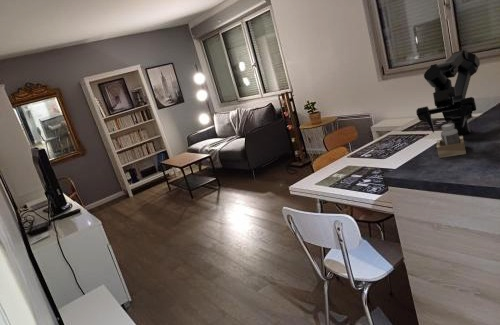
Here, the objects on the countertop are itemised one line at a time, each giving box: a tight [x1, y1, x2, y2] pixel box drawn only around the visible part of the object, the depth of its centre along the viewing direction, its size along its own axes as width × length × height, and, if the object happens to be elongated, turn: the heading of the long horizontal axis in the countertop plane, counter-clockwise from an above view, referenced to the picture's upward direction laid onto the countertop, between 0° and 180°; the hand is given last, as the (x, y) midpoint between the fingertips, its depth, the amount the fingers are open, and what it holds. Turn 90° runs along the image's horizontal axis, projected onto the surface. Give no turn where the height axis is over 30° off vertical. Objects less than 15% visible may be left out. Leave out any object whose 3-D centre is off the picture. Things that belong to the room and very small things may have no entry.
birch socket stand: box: [436, 135, 467, 159], centre depth 129 cm, size 8×8×4 cm
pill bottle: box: [440, 122, 460, 146], centre depth 129 cm, size 5×5×10 cm
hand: (447, 129), depth 128 cm, fingers open, 9 cm apart
